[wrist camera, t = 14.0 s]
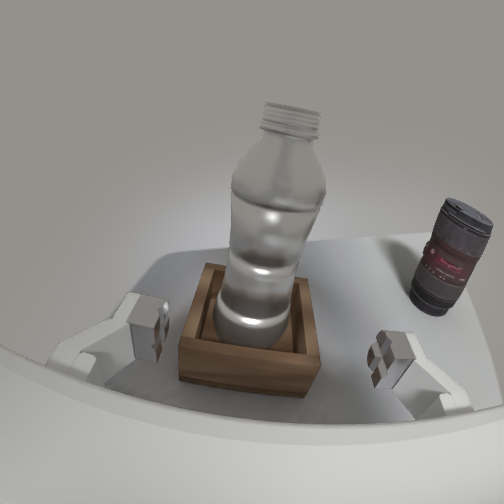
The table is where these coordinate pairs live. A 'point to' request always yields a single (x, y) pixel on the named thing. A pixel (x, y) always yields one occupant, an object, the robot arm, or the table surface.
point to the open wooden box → (244, 358)
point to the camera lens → (449, 257)
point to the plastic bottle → (269, 227)
